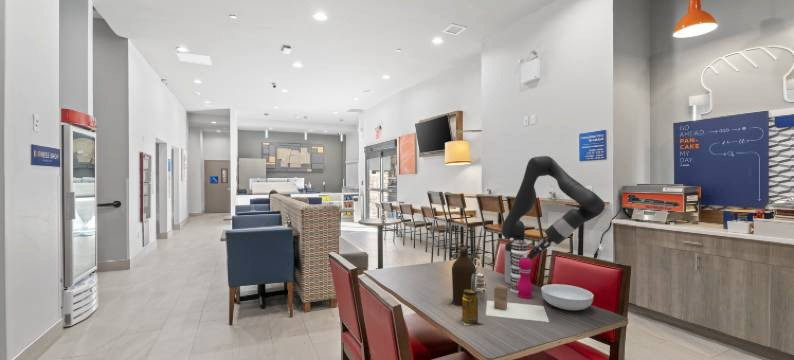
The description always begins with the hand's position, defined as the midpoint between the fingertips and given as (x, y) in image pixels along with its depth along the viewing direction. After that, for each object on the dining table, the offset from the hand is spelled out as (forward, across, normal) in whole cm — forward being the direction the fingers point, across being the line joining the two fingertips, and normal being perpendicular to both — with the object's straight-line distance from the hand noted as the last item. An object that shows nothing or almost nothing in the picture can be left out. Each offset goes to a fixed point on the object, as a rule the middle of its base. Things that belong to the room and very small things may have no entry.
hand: (530, 255), depth 154 cm
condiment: (+30, +22, +3) cm, 38 cm away
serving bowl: (+7, -13, +27) cm, 30 cm away
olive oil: (+36, +4, -3) cm, 36 cm away
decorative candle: (+22, -27, +11) cm, 36 cm away
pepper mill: (+19, -17, +14) cm, 29 cm away
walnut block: (+24, +3, +8) cm, 26 cm away
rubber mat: (+20, +3, +13) cm, 24 cm away
